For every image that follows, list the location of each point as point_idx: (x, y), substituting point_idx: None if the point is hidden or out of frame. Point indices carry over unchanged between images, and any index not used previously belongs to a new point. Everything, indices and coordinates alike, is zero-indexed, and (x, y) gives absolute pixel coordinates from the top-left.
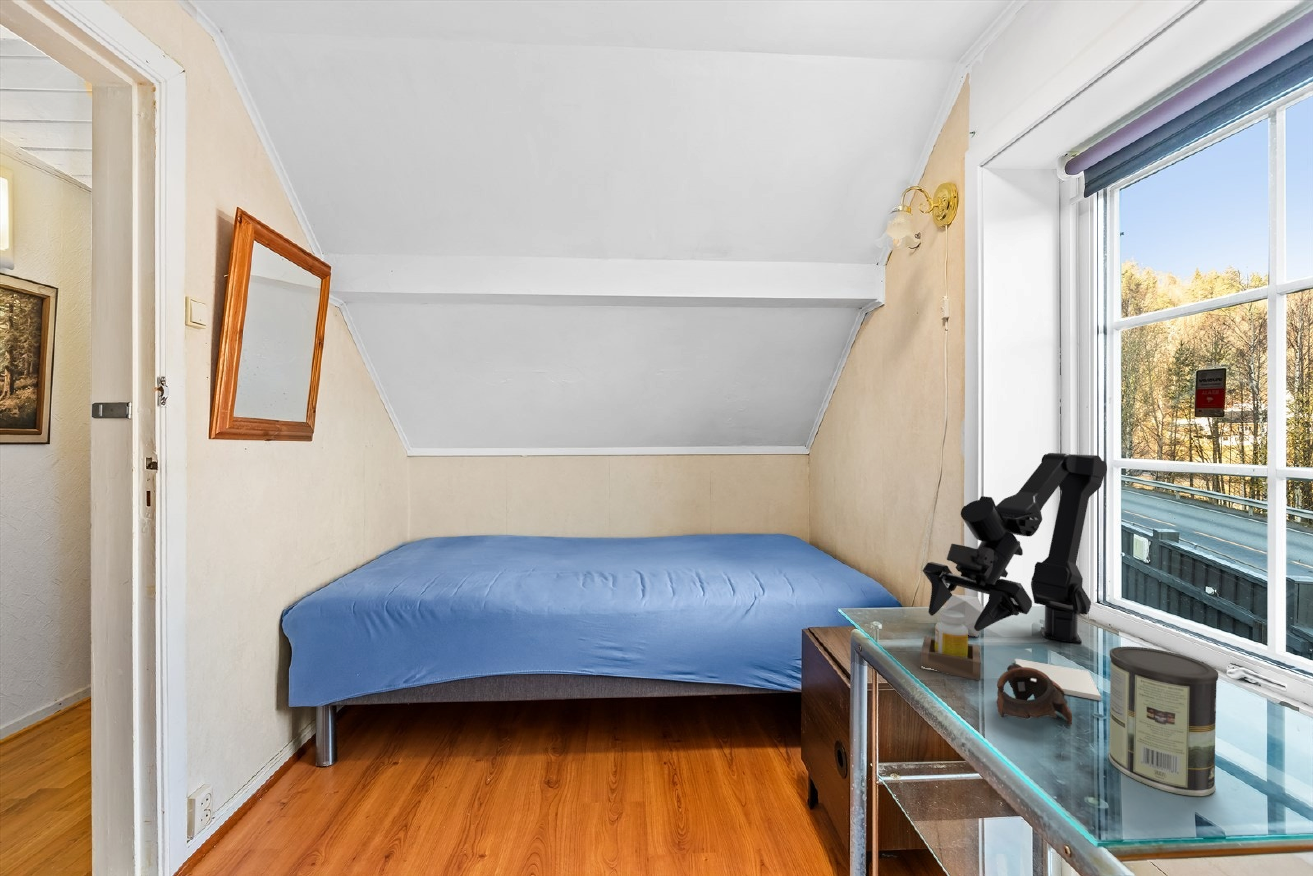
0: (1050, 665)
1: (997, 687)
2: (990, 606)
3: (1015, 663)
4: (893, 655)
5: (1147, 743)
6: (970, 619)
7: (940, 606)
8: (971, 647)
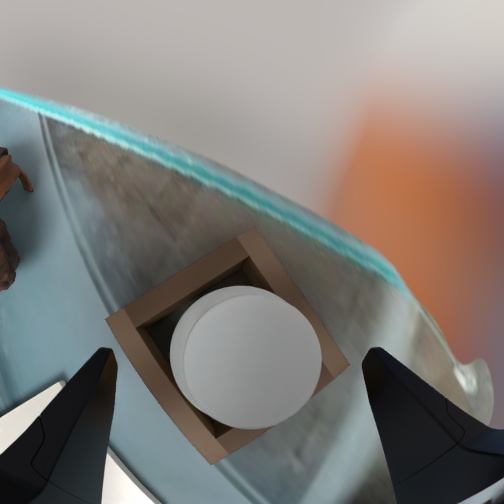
0: None
1: (10, 155)
2: (24, 451)
3: (155, 499)
4: (339, 257)
5: None
6: None
7: (383, 430)
8: (218, 435)
